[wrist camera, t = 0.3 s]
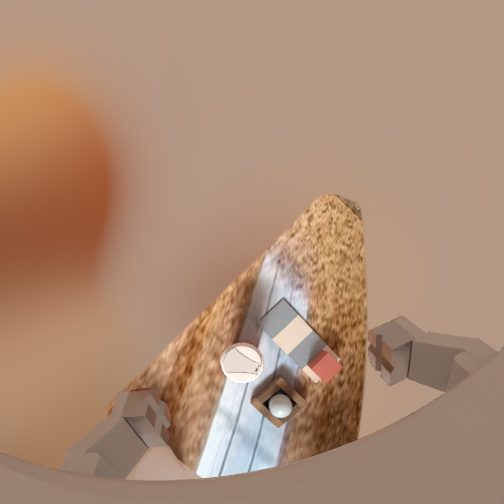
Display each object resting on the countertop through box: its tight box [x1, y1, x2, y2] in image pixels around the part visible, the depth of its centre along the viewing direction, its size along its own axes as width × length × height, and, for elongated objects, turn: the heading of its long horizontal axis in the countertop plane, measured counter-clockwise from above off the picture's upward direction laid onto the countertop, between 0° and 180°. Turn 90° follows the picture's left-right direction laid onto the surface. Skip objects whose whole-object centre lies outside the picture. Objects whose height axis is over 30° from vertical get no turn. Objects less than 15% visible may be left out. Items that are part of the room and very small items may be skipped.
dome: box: [268, 393, 292, 418], centre depth 52 cm, size 5×5×6 cm
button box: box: [251, 375, 308, 428], centre depth 55 cm, size 9×9×3 cm
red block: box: [307, 350, 343, 384], centre depth 55 cm, size 5×5×5 cm
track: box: [257, 299, 340, 383], centre depth 59 cm, size 20×8×1 cm, turn 43°
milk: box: [125, 445, 184, 480], centre depth 39 cm, size 12×12×26 cm
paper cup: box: [220, 342, 264, 383], centre depth 52 cm, size 8×8×14 cm
